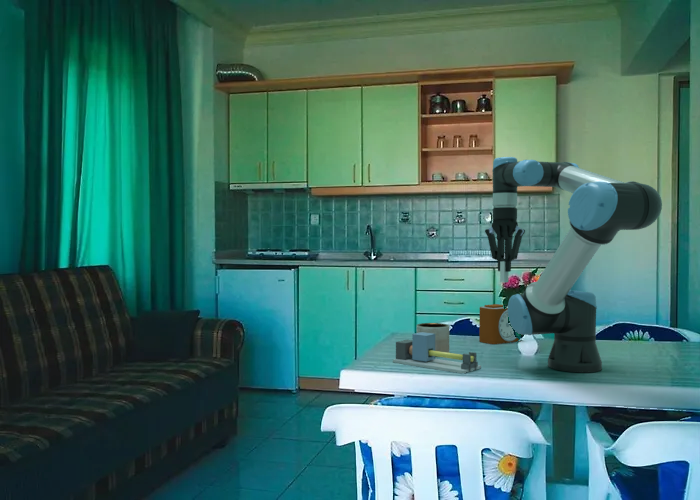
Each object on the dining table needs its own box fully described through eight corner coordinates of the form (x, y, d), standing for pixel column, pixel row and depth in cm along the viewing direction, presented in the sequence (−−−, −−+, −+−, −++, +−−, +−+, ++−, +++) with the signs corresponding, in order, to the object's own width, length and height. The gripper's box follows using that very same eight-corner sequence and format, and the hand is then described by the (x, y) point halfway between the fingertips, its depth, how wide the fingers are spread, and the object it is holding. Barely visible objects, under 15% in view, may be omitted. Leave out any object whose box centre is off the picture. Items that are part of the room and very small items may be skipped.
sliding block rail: (481, 368, 194) (481, 347, 194) (463, 373, 186) (463, 352, 186) (410, 357, 210) (410, 338, 210) (391, 362, 203) (392, 342, 202)
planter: (448, 357, 210) (448, 327, 210) (414, 356, 212) (414, 326, 212) (450, 351, 221) (450, 323, 221) (417, 350, 223) (417, 322, 223)
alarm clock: (493, 345, 234) (494, 307, 234) (476, 341, 241) (477, 304, 241) (522, 341, 242) (523, 304, 242) (505, 338, 249) (505, 302, 249)
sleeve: (435, 359, 201) (435, 333, 201) (426, 361, 197) (426, 335, 197) (421, 357, 205) (421, 332, 204) (412, 359, 201) (412, 334, 200)
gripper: (529, 207, 205) (528, 282, 206) (491, 207, 214) (491, 280, 214) (518, 206, 199) (518, 283, 200) (480, 207, 208) (479, 281, 208)
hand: (504, 282), depth 207 cm, fingers closed
